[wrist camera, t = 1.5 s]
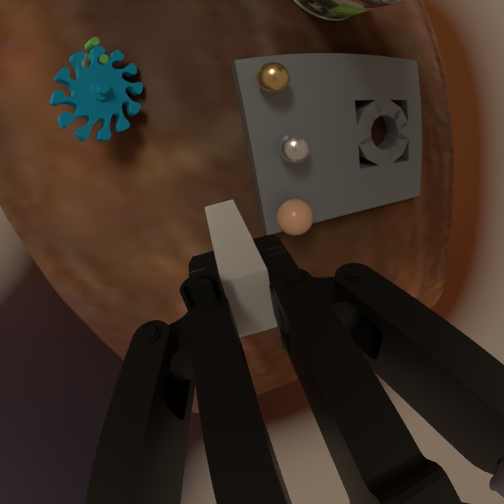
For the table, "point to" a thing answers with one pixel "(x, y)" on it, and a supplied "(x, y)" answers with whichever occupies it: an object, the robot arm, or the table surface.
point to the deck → (332, 132)
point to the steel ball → (294, 147)
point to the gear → (97, 91)
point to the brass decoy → (273, 77)
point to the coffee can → (340, 7)
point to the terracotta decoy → (295, 217)
